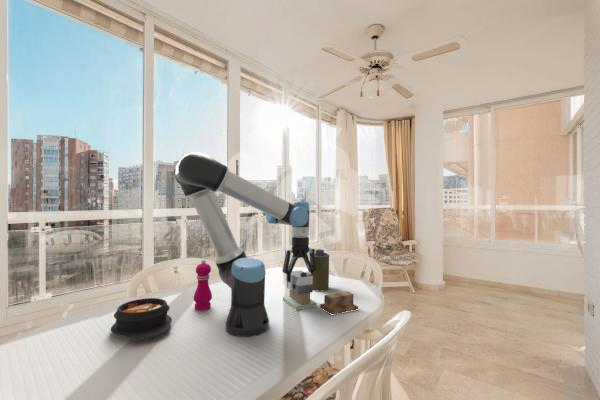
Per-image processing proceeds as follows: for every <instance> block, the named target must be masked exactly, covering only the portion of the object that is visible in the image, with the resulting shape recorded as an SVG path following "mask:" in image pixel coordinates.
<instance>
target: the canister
mask: <svg viewBox="0 0 600 400" xmlns="http://www.w3.org/2000/svg"><path fill="white" fill-rule="evenodd" d="M314 255H315V261H316V268H317V270H315V271H314V272H313V290H318V291H317V292H322V291H321V290H326V291H328V290H329V289H330V284H329V283H330V254H328V253H327V252H325V250H324V249H321V248H318V249H315V253H314ZM309 261H310V260H309ZM310 264H311V261H310ZM328 288H329V289H328ZM327 289H328V290H327Z"/></svg>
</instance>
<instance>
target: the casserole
mask: <svg viewBox="0 0 600 400" xmlns="http://www.w3.org/2000/svg"><path fill="white" fill-rule="evenodd" d="M170 307H171V306H169V305H168V302H167V301H166V300H165V299H162V298H155V297H153V298H152V297H150V298H149V297H148V298H140V299H134V300H130V301H128V302H125V303H122V304H120V305H119V306H118V307H117V310H116V311H115V313H114V314H113V318H115V323H113V325H112V326H111V327H110V332H111V333H112V334H113V335H117V336H122V337H125V338H128V339H131V340H135V341H137V340H143V339H150V338H153V337H156V336H159V335H162V334H164V333H167V332H168V331H169V330H170V329H171V323H172V321H173V319H172V317H171V316H170V315H168V312H169V310H170V309H171V308H170Z"/></svg>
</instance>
